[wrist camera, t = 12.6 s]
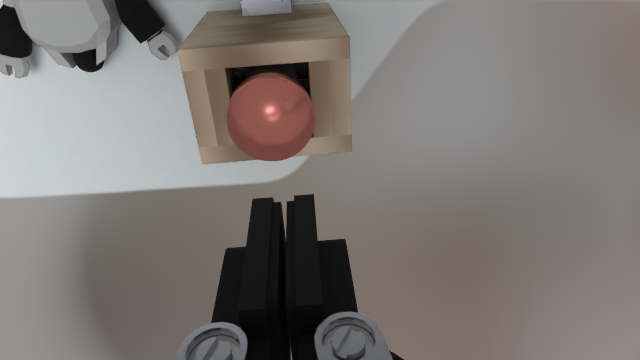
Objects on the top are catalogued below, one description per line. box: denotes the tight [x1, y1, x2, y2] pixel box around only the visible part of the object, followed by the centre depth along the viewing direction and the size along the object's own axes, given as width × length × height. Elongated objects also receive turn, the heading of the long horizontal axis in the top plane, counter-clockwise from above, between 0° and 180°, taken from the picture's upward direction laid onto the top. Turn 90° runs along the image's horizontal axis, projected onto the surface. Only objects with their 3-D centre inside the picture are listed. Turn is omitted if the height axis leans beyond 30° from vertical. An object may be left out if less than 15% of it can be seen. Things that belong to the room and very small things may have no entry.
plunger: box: [226, 63, 315, 161], centre depth 23 cm, size 4×4×6 cm
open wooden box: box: [178, 3, 352, 164], centre depth 26 cm, size 8×6×10 cm
